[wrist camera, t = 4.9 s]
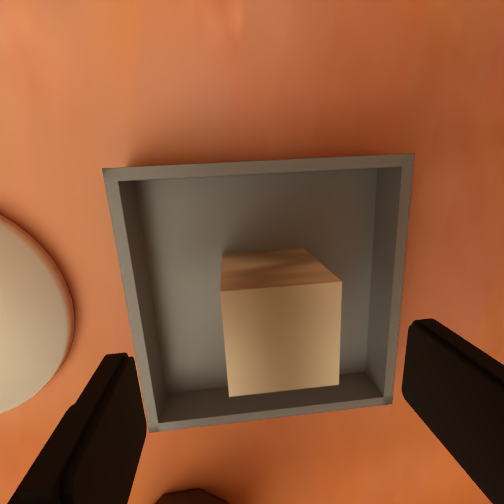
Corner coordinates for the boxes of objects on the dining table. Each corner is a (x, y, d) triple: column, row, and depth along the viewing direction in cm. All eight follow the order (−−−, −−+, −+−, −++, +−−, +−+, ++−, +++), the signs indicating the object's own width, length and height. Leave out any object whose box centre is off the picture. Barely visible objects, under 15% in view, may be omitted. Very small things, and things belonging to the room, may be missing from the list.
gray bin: (382, 158, 17) (414, 153, 14) (368, 372, 21) (392, 404, 18) (124, 170, 16) (102, 168, 13) (160, 395, 20) (149, 432, 17)
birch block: (303, 247, 17) (342, 281, 11) (303, 320, 19) (338, 384, 13) (221, 253, 17) (219, 291, 11) (228, 328, 18) (229, 396, 12)
